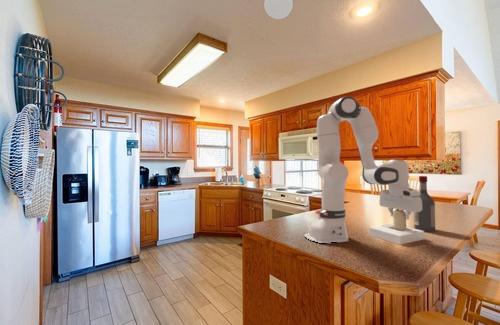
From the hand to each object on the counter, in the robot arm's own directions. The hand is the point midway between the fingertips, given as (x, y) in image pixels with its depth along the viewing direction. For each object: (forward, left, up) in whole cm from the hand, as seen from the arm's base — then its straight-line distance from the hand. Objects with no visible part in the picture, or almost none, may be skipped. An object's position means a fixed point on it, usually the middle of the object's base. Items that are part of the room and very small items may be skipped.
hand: (399, 217), depth 118 cm
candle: (0, 0, -6) cm, 6 cm away
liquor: (+24, +2, -10) cm, 26 cm away
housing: (-3, 0, -10) cm, 10 cm away
